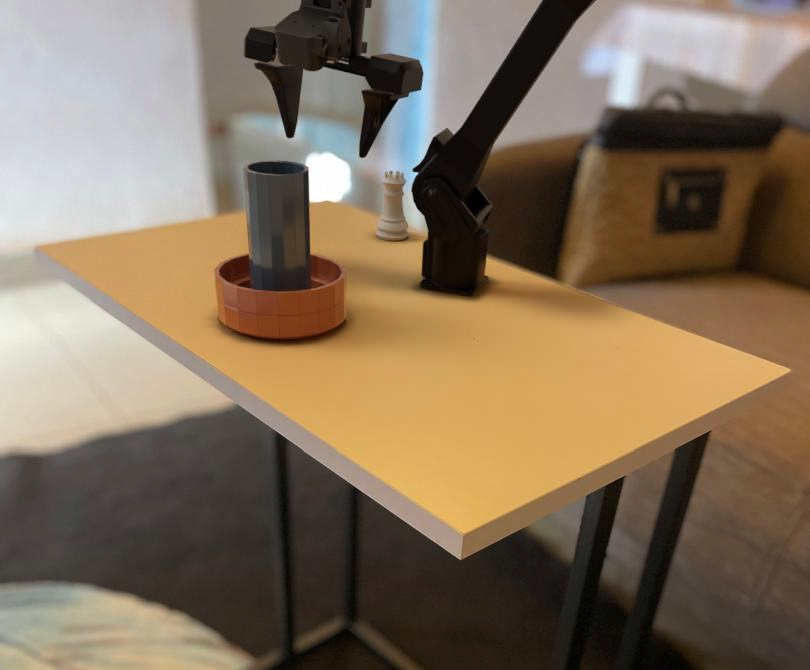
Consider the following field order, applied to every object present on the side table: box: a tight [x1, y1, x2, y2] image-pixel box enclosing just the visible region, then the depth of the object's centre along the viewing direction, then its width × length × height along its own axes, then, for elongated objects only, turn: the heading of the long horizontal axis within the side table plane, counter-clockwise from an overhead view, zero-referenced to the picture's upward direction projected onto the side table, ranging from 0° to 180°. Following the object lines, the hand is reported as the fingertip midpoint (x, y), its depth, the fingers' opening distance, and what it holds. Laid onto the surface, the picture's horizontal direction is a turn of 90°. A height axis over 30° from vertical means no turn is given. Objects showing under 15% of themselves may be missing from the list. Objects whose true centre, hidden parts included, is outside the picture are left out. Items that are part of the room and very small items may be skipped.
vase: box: [242, 160, 312, 292], centre depth 82 cm, size 6×6×14 cm
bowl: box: [213, 252, 348, 341], centre depth 85 cm, size 13×13×5 cm
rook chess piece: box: [375, 170, 410, 242], centre depth 110 cm, size 4×4×8 cm
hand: (325, 147), depth 93 cm, fingers open, 9 cm apart
